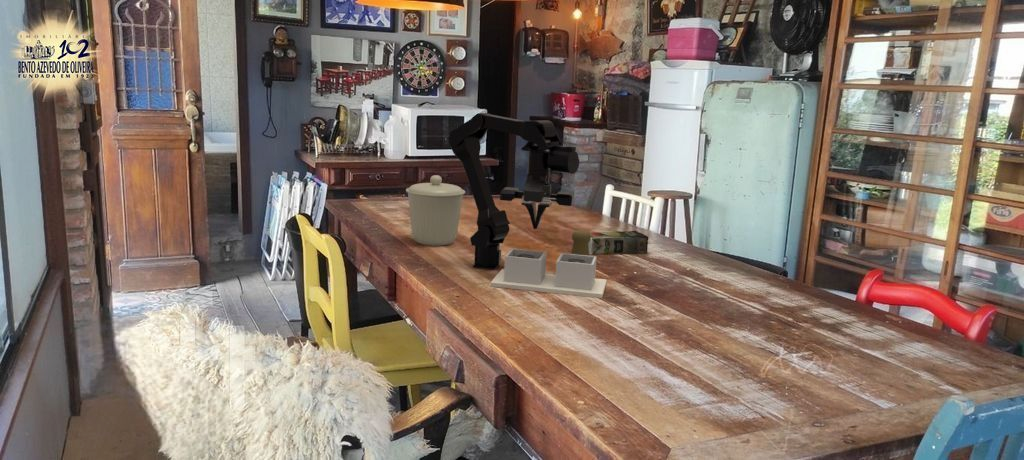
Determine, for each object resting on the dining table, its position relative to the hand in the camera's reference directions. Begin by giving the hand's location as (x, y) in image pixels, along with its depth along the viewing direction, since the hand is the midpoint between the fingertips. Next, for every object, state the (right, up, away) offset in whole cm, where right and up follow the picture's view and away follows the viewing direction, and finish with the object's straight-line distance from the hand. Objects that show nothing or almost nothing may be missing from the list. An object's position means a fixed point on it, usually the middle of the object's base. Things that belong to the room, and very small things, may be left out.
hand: (535, 228), depth 191 cm
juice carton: (+25, -7, +38) cm, 46 cm away
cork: (+13, -11, +13) cm, 22 cm away
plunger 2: (+10, -14, -6) cm, 18 cm away
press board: (+4, -14, -4) cm, 15 cm away
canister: (-30, -4, +36) cm, 48 cm away
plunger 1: (-3, -13, -3) cm, 13 cm away
